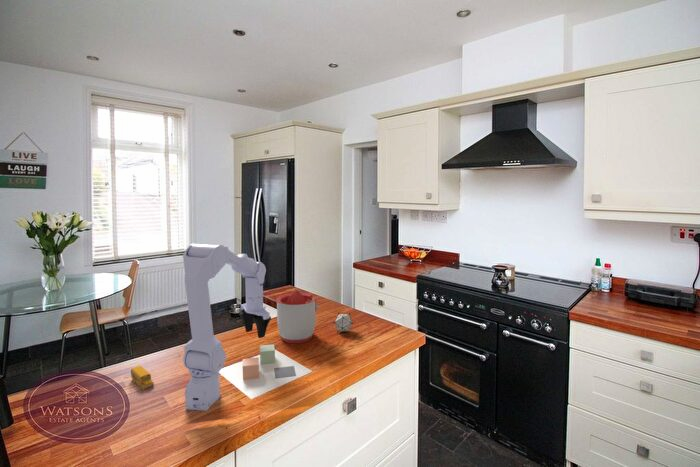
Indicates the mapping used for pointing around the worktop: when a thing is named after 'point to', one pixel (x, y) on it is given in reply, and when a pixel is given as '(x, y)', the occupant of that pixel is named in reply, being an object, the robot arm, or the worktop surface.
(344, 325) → the game die
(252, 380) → the baseplate
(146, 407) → the worktop surface
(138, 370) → the toy bus
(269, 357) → the green brick
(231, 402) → the worktop surface
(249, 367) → the terracotta brick
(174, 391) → the worktop surface
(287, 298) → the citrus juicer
